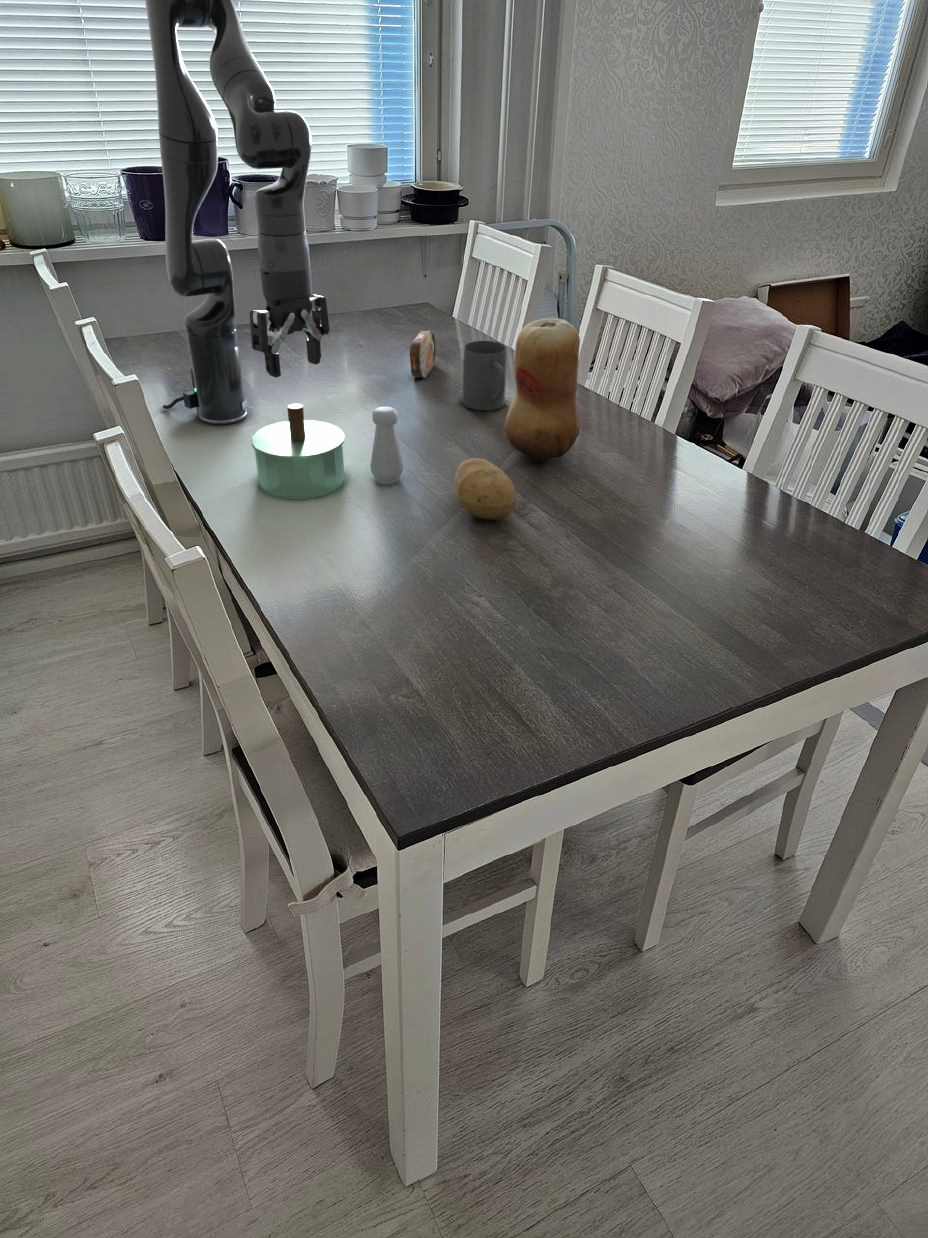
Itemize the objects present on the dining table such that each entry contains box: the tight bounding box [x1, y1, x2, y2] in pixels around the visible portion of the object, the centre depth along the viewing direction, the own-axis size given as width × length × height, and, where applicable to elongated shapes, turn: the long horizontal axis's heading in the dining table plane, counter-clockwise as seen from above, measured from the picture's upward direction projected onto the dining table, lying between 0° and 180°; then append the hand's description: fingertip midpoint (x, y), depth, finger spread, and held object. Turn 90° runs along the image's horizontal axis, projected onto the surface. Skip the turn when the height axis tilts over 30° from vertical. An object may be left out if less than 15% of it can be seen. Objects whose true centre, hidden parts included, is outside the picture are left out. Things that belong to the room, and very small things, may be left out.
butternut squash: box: [504, 317, 581, 462], centre depth 153 cm, size 14×13×25 cm
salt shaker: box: [369, 406, 404, 486], centre depth 147 cm, size 6×6×13 cm
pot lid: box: [250, 403, 345, 460], centre depth 144 cm, size 16×16×7 cm
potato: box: [454, 457, 517, 521], centre depth 139 cm, size 10×14×8 cm
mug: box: [461, 340, 508, 412], centre depth 178 cm, size 14×9×12 cm
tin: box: [409, 330, 436, 379], centre depth 196 cm, size 15×3×8 cm, turn 168°
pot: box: [254, 445, 345, 500], centre depth 148 cm, size 15×15×7 cm
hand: (294, 369), depth 139 cm, fingers open, 8 cm apart
